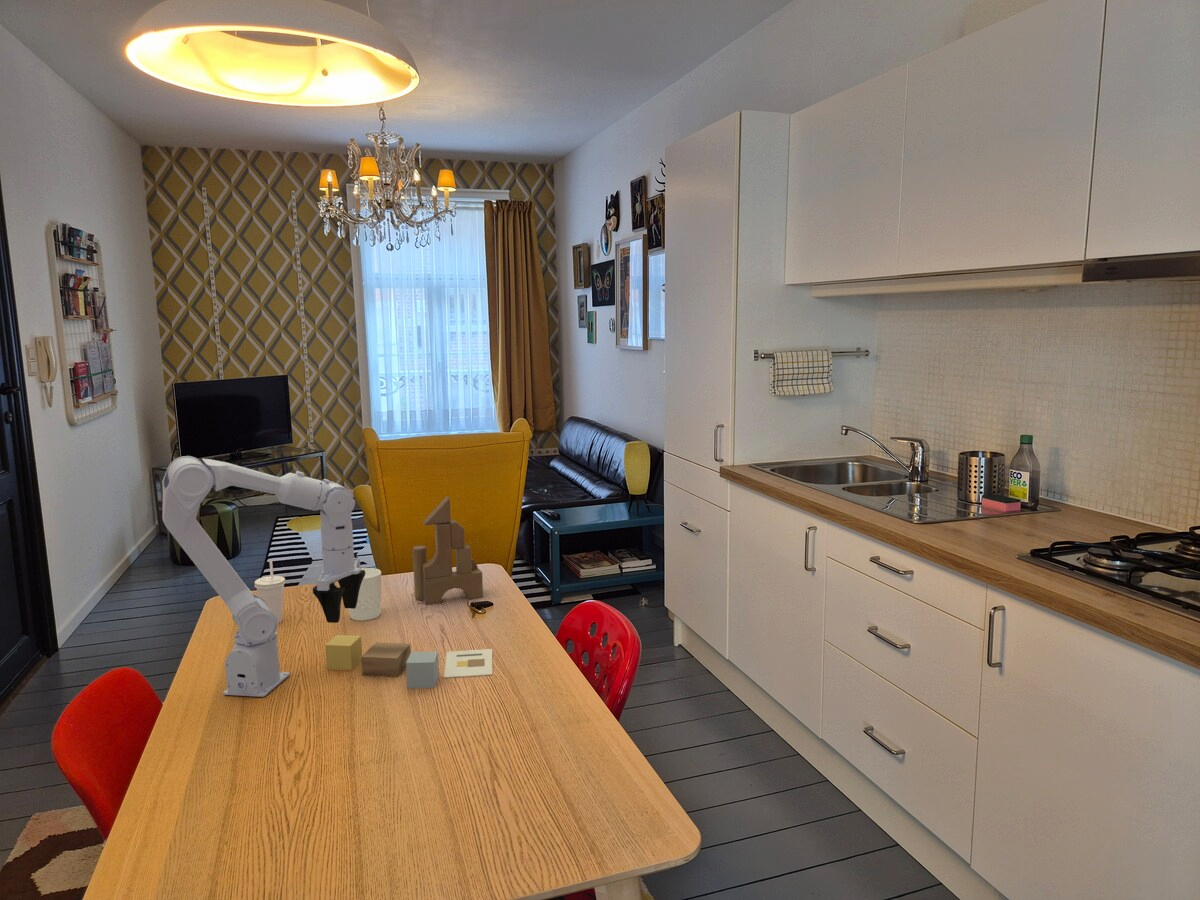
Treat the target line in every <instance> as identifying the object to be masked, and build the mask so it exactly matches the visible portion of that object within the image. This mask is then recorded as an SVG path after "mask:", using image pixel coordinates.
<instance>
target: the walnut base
mask: <svg viewBox="0 0 1200 900" xmlns="http://www.w3.org/2000/svg"><path fill="white" fill-rule="evenodd" d="M411 650H412V649H411V643H400V642H399V643H398V642H379V641H378V642H377V641H376V642H375V643H374V644H372V646H370V647H369V648H368V650H366V651H365V652H364V653H362V656H361V662H360V663H361V674H362V676H364V677H379V678H380V677H382V678H384V677H385V678H399V677H400V675H401V674H403V672H404V671H405V670H406V662H407V660H408V658H409V656H410V653H411V652H412V651H411Z"/></svg>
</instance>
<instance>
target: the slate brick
mask: <svg viewBox="0 0 1200 900" xmlns="http://www.w3.org/2000/svg"><path fill="white" fill-rule="evenodd" d="M439 661H440V660H439V651H438V650H437V651H435V650H434V651H411V653H410V656H409V658H408V660H407V662H406V669H405V670H406V685H407V686H406V689H411V690H412V689H436V686H437V683H438V680H439V677H440V666H439V665H440V664H439Z"/></svg>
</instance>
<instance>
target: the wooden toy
mask: <svg viewBox="0 0 1200 900" xmlns="http://www.w3.org/2000/svg"><path fill="white" fill-rule="evenodd" d="M422 523H423V525H424V526H433V525H434V537H435V538H434V539H435V552H434V554H433V556H432V558H431V559H429V560H428V556H427V546H425V545H415V546H413V547H412V560H413V561H412V562H413V567H412V568H413V585H414V599H415V600H416V601H423V602H424V603H425V605H426V606H428V605H433V604H434V605H436V604H441V603H442V601H443V597H444V595H445V594H446V593H447V592H448V591H451V590H453V589H460V590H461V591H463V594H465V597H466V598H467V600H475V599H480V598H483V597H484V588H483V586H484V584H483V581H484V580H483V571H482V570H481V569H480V568H479V567H478V565H477V562H476V561H475V560H474V559H473V558H472V548H471V546H470V545H469V544H466V543H465V529H464V527H463V526H462V525H461V524H460V523H459V522H458V521H456V520H455V519H451V499H450V498H449V496H448V495H447V496H445V497H444V498H443V499H442V500H441V502H440V503H439V504H438V505H437V506H436V507H435V508H434V509H433V510H432V511H431V512H430V514H429V515H428V516H427V517H426V518H425V519H424V520H423V521H422ZM452 550H454V551H455V568H456V569H455V570H456V571H453V554H452V552H453V551H452Z"/></svg>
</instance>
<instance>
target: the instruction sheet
mask: <svg viewBox="0 0 1200 900" xmlns="http://www.w3.org/2000/svg"><path fill="white" fill-rule="evenodd" d="M445 656H446V657H445V664H444V672H443V679H450V678H451V679H453V678H464V677H465V678H468V677H485V676H493V649H492V648H487V649H485V648H484V649H471V650H470V649H469V650H453V651H452V650H451V651H446V655H445Z"/></svg>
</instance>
